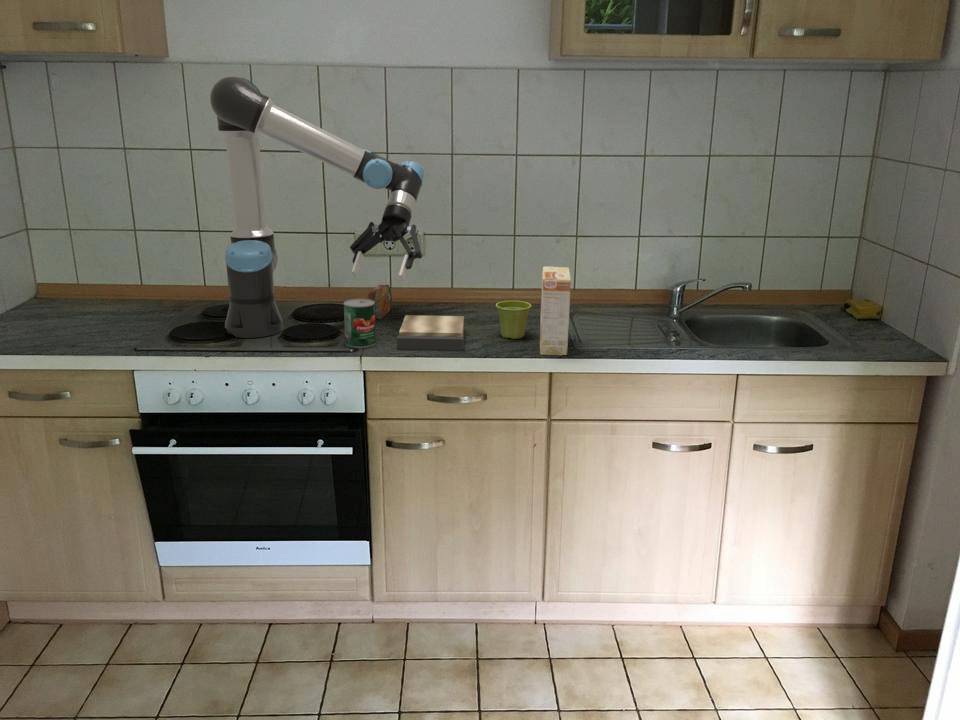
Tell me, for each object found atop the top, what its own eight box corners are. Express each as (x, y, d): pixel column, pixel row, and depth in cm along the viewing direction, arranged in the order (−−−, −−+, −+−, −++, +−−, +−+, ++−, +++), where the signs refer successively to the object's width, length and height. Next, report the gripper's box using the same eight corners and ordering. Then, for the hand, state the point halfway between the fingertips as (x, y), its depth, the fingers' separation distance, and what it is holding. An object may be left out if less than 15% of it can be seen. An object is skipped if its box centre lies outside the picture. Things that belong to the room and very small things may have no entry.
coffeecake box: (539, 337, 209) (542, 265, 203) (566, 338, 208) (569, 266, 202) (538, 355, 195) (542, 278, 188) (567, 356, 194) (571, 279, 188)
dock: (396, 349, 197) (396, 334, 196) (404, 329, 214) (404, 315, 213) (463, 350, 197) (463, 335, 196) (465, 330, 214) (465, 316, 213)
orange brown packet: (376, 322, 220) (375, 293, 218) (366, 321, 221) (365, 292, 218) (392, 309, 234) (392, 281, 232) (382, 308, 235) (382, 281, 232)
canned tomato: (364, 350, 196) (363, 307, 193) (339, 345, 199) (337, 303, 196) (381, 341, 203) (380, 300, 200) (356, 337, 206) (355, 297, 203)
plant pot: (505, 342, 204) (505, 310, 201) (489, 333, 212) (490, 302, 209) (536, 338, 208) (537, 307, 205) (519, 329, 216) (520, 299, 213)
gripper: (444, 222, 215) (425, 287, 206) (362, 217, 222) (340, 280, 213) (437, 205, 208) (417, 271, 199) (353, 200, 215) (330, 265, 206)
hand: (377, 276), depth 206 cm, fingers open, 13 cm apart
